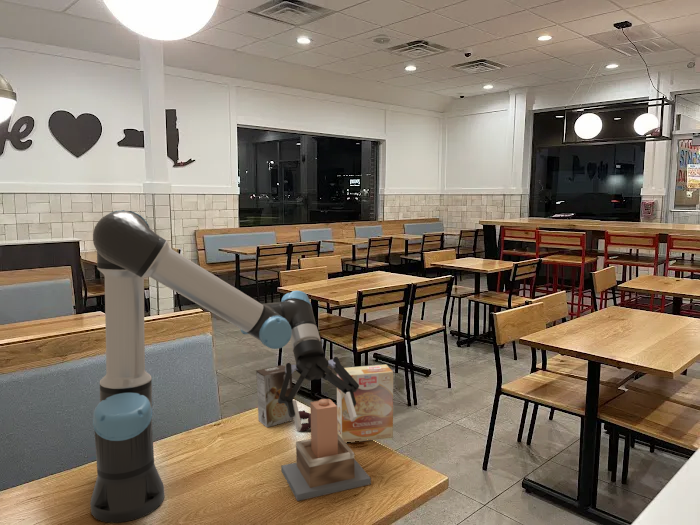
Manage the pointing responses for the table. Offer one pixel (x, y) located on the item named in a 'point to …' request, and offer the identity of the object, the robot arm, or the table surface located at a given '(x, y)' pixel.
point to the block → (324, 428)
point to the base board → (305, 492)
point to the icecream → (305, 416)
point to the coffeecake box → (368, 405)
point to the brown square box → (325, 464)
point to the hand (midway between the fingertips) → (327, 424)
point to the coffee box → (272, 396)
